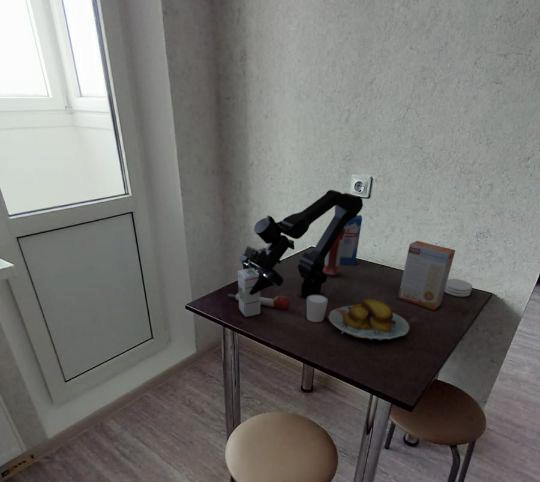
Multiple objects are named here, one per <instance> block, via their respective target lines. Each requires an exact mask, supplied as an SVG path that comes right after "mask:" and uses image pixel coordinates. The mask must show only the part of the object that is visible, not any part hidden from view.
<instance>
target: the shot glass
mask: <svg viewBox="0 0 540 482" xmlns="http://www.w3.org/2000/svg"><path fill="white" fill-rule="evenodd" d="M328 301H329V299H328V298H327V297H326V296H324V295H322V294H321V295H310V296H308V297H307V298H306V319H307V320H308V321H310V322H312V323H321V322H324V319H325V315H326V310H327V306H328Z"/></svg>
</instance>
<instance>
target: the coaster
mask: <svg viewBox="0 0 540 482" xmlns="http://www.w3.org/2000/svg"><path fill="white" fill-rule="evenodd" d="M472 289H473V284H471V283H470V282H468V281H466V280H464V279H458V278H448V279H447V283H446V287H445V290H444V293H446V294H448V295H450V296H453V297H458V298H466V297H468V296H470V295H471V294H472V293H471V292H472Z"/></svg>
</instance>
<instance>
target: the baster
mask: <svg viewBox="0 0 540 482" xmlns="http://www.w3.org/2000/svg"><path fill="white" fill-rule="evenodd" d="M228 298H232V299H235V301H238V302H239V294H238V292H237V293H236V294H233V293H229V294H228ZM290 304H291V301H290V299H289V298H288V297H287V296H282V295H277V296H275V297H274V298H268V297H262V296H260V306H266V307H271V308H277V309H281V310H287V309H288V308H289V307H290Z"/></svg>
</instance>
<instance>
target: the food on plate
mask: <svg viewBox="0 0 540 482" xmlns="http://www.w3.org/2000/svg"><path fill="white" fill-rule="evenodd" d="M327 321H329V322H330V324H332V326H334V327H335V328H336V329H338V330H339V331H341V335H343V334H344V333H346V334H347V335H350V336H353V337H354V338H358V339H360V338H361V339H368V340H369V341H370V340H371V341H373V340H374V339H375V340H378V341H384V340H392V339H394V338H395V339H396V338H399V337H404V336H406V335H408V334H409V332H410V331H411V326H410V323H409V321H407V319H405V318H404V317H402V316H400V315H398V314H396V313H394V312H393V310H392V308H391V307H390V306H389V305H388V304H387V303H385V302H383V301H381V300H380V299H379V300H378V299H374V298H364V299H363V300H362V302H359V303H356V304H352V305H346V306H342V307H338V308H335V309H332V310H331V311H329V314H328V315H327Z"/></svg>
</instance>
